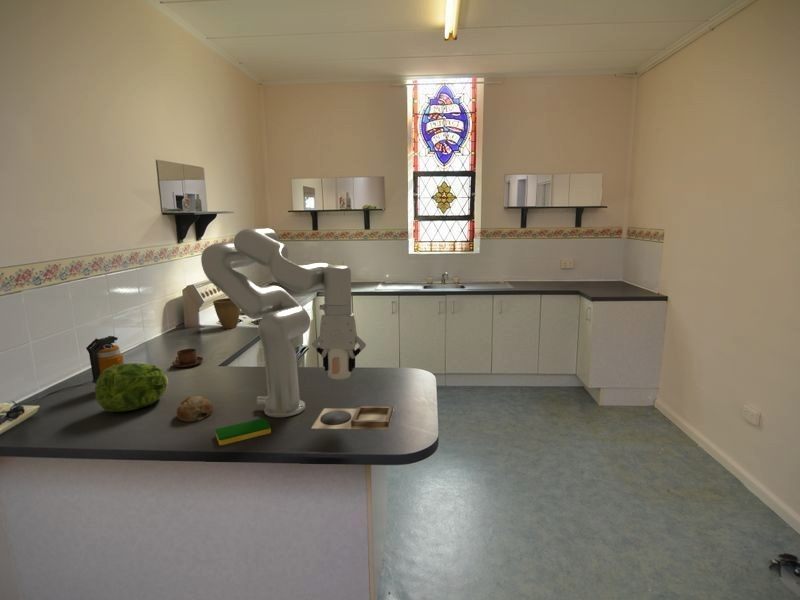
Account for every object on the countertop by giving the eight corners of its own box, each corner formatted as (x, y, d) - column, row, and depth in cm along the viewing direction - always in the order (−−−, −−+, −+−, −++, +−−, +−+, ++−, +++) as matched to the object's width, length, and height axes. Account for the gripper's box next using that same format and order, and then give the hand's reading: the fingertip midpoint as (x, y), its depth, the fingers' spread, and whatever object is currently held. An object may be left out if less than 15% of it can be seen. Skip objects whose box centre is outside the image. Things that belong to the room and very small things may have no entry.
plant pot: (247, 323, 277) (244, 297, 274) (236, 330, 262) (233, 301, 259) (223, 324, 278) (220, 297, 275) (211, 330, 264) (207, 302, 261)
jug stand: (311, 431, 133) (310, 423, 133) (324, 411, 147) (323, 403, 146) (388, 432, 131) (388, 424, 130) (394, 412, 144) (394, 404, 144)
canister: (132, 386, 176) (125, 334, 173) (103, 397, 166) (94, 342, 163) (116, 384, 180) (109, 333, 176) (87, 394, 170) (78, 340, 167)
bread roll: (187, 435, 143) (192, 414, 139) (167, 415, 147) (171, 395, 144) (216, 422, 151) (220, 402, 148) (196, 404, 155) (200, 384, 152)
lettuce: (179, 409, 160) (182, 363, 163) (118, 412, 142) (123, 361, 144) (148, 409, 168) (151, 365, 170) (86, 412, 149) (90, 363, 152)
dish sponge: (216, 436, 133) (215, 428, 133) (265, 425, 140) (264, 417, 139) (219, 447, 127) (218, 438, 127) (271, 434, 134) (270, 426, 133)
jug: (331, 371, 141) (330, 342, 139) (352, 372, 140) (352, 342, 138) (323, 381, 132) (323, 351, 130) (346, 382, 131) (346, 351, 130)
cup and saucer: (195, 369, 195) (194, 354, 194) (167, 370, 196) (165, 355, 194) (208, 360, 207) (206, 346, 206) (181, 361, 207) (179, 347, 206)
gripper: (304, 311, 130) (306, 373, 134) (366, 313, 129) (366, 375, 132) (311, 305, 138) (313, 364, 141) (370, 307, 136) (370, 366, 140)
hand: (339, 369), depth 137 cm, fingers closed on jug, 6 cm apart
